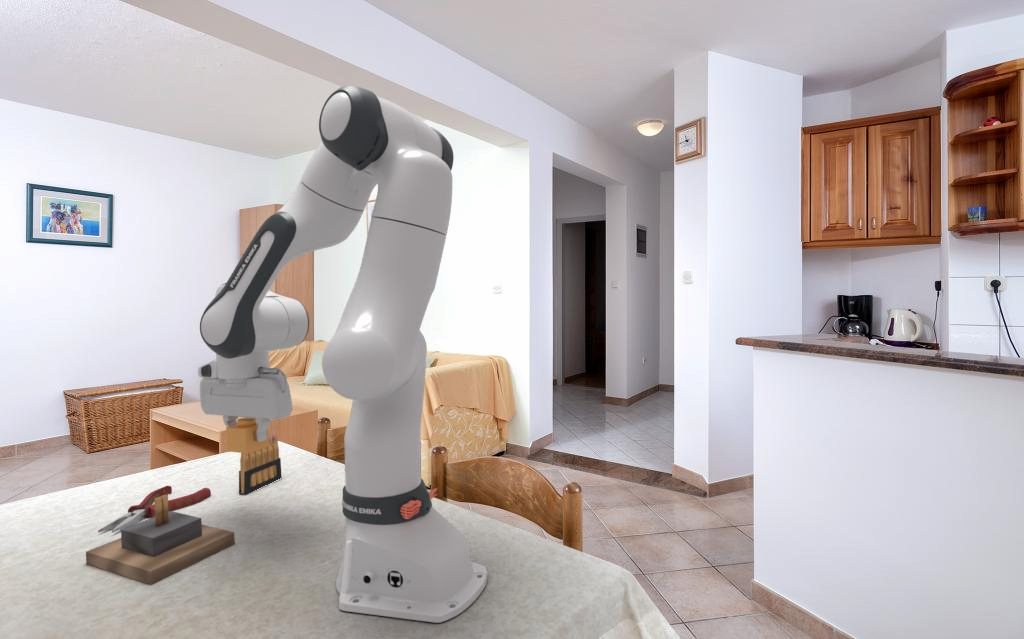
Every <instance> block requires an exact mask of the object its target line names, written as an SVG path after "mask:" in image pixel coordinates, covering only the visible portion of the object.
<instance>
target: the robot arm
mask: <svg viewBox="0 0 1024 639" xmlns="http://www.w3.org/2000/svg"><path fill="white" fill-rule="evenodd" d="M319 115H320V116H319V119H318V131H319V135H320V138H321V139H320V140H321V141H320V143H319V144H318V146H317V147H316V150H315V151H313V154H312V155H311V158H310V159H309V161H308V163H307V165H306V167H305V169H304V171H303V173H302V175H301V177H300V180H299V182H298V185H297V186H296V188H295V190H294V191H293V193H292V195H291V196H290V197H289V199H288V200H287V201H286V202H285V203H284V204H283V206H282V207H280V208H279V210H277V212H275V213H273V214H272V215H270V216H269V217H268V218H267V219H266V220H264V222H263V223H262V225H261V226H260V227H259V228H258V229H257V231H256V233H255V234H254V236H253V237H252V239H251V241H250V242H249V245H248V246H247V248H246V249H245V250H244V253H242V255H241V258H240V259H239V261H238V263H237V265H236V266H235V268H234V269H233V271H232V272H231V275H230V276H229V278H228V280H227V281H226V282H225V283H223V284H221V285H219V286H218V287H217V289H216V292H215V296H214V298H213V299H212V300H211V301H210V302H209V304H208V305H207V306H206V308H204V311H203V313H202V315H201V317H200V320H199V321H200V322H199V332H200V337H201V339H202V340H203V342H204V344H205V345H206V346H207V347H208V348H209V349H210V350H211V351H212V352H214V353H215V357H216V359H212V361H209V362H207V363H205V364H202V365H200V366H199V367H198V369H197V372H198V373H197V374H198V377H199V378H201V380H200V381H199V399H200V407H201V408H200V409H202V411H203V413H204V414H205V415H211V416H222V421H223V423H224V425H225V428H226V427H230V426H234V425H237V420H238V419H239V418H246V417H248V418H256V423H257V424H258V428H257V431H256V432H253V436H254V438H253V440H254V441H258V442H262V441H265V440H266V439H267V432H266V431H267V429H268V430H269V427H270V424H271V422H272V420H280V419H284V418H287V417H289V416H290V415H291V414H292V411H293V402H292V395H291V390H290V385H289V382H288V378H287V374H285V373H284V371H282V370H281V368H279V367H270V352H273V351H277V350H285V349H290V348H293V347H296V346H299V345H301V344H302V343H303V342H304V340H305V339H306V338H307V335H308V333H309V330H310V318H309V317H310V316H309V313H308V310H307V309H306V307H305V306H304V304H303V303H302V302H301V301H299V299H296V298H291V297H287V296H284V295H281V294H278V293H275V292H274V291H271V290H270V289H271V287H272V285H273V284H274V283H275V280H277V277H278V276H279V274H280V272H281V271H282V270H283V268H285V267H286V266H287V265H288V264H290V262H292V261H293V260H295V259H298V258H299V257H301V256H303V255H306V254H309V253H312V252H314V251H317V250H318V251H319V250H323V249H326V248H331V247H334V246H337V245H340V244H341V243H343V242H345V240H348V238H349V237H350V235H351V234H352V233H353V232H354V230H355V229H356V227H357V225H358V224H359V222H360V221H361V219H362V215H363V213H364V211H365V210H366V207H367V205H368V203H369V202H368V201H369V200H370V197H371V194H372V192H373V191H374V189H375V187H376V186H377V194H376V199H375V201H374V206H373V209H372V214H371V219H370V223H369V228H368V232H367V236H366V240H365V245H364V250H363V253H362V259H361V264H360V266H359V271H358V273H357V277H356V278H355V283H354V284H353V288H352V290H351V292H350V295H349V297H348V300H347V301H346V304H345V307H344V310H343V312H342V314H341V317H340V320H339V323H338V325H337V328H336V330H335V332H334V333H333V336H332V337H331V339H330V340H329V342H328V343H327V345H326V347H325V349H324V351H323V354H322V358H321V366H322V368H321V369H322V372H323V373H322V374H323V376H324V379H325V381H326V382H327V384H328V385H329V387H330V388H331V389H332V390H333V391H334V392H335V393H336V394H338V395H340V396H341V397H343V398H345V399H347V400H352V403H351V408H350V414H349V419H348V423H347V425H346V428H345V431H344V436H343V438H344V439H343V440H344V444H343V445H344V477H345V478H344V480H345V483H344V484H345V485H344V486H343V488H342V500H341V505H342V514H343V516H344V518H345V519H344V521H345V522H344V535H343V546H342V553H341V558H340V565H339V569H338V573H337V577H336V580H335V588H336V590H337V593H338V595H339V596H338V597H339V598H338V609H339V610H340V611H343V612H350V613H351V612H352V613H357V614H358V613H359V614H367V615H372V616H373V615H374V616H379V617H380V616H382V617H388V618H389V617H390V618H396V619H405V620H413V621H418V622H419V621H421V622H429V623H436V624H437V623H443V622H446V621H447V620H451V619H453V618H454V617H456V616H458V615H459V614H462V613H463V612H464V611H466V609H467V608H469V607H470V606H471V605H472V604H473V603H474V602H475V601H476V600H477V599H478V597H479V596H480V595H481V594H482V592H483V591H484V589H485V587H486V586H487V581H488V573H487V567H486V566H485V565H482V564H480V563H477V562H474V561H473V559H472V553H471V548H470V544H469V541H468V539H467V537H466V535H465V534H463V533H462V532H461V531H460V530H459V529H458V528H457V527H456V526H454V525H453V524H452V523H451V522H450V521H448V520H447V518H446V517H444V516H443V515H442V514H441V513H440V512H439V511H437V510H436V508H434V507H433V502H432V499H434V498H435V497H437V495H438V493H436V492H437V490H438V488H437V487H435V488H433V489H432V490H430V491H428V489H427V485H426V483H425V481H424V480H423V478H422V442H421V439H422V438H421V436H422V433H421V431H422V417H423V409H424V398H425V387H426V386H425V384H426V383H425V382H426V368H427V367H426V366H427V354H428V348H427V341H426V339H425V336H424V335H423V333H422V332H421V330H420V329H421V326H422V323H423V320H424V318H425V314H426V312H427V308H428V306H429V303H430V300H431V297H432V295H433V293H434V291H435V289H436V285H437V280H438V276H439V270H440V267H441V262H442V258H443V253H444V248H445V244H446V239H447V235H448V230H449V224H450V218H451V211H452V204H453V203H452V200H453V173H452V169H453V166H454V159H455V156H454V151H453V147H452V145H451V143H450V142H449V141H448V139H447V138H446V137H445V136H444V134H442V133H441V132H440V131H439V130H437V129H436V128H434V127H432V126H429V125H428V124H427V123H425V122H424V121H423V120H421V119H420V118H418V117H417V116H415V115H413V114H412V113H411V112H410V111H409V110H408V109H406V108H404V107H403V106H400V105H398V104H397V103H394V102H393V101H391V100H387V98H383V97H380V96H378V95H376V94H375V93H374V92H373V91H371V90H369V89H366V88H362V87H359V86H354V85H344V86H341V87H339V88H338V89H336V90H335V91H333V92H332V93H331V94H330V95H329V96H328V97H327V99H326V101H325V102H324V103H323V106H322V108H321V111H320V114H319Z"/></svg>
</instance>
